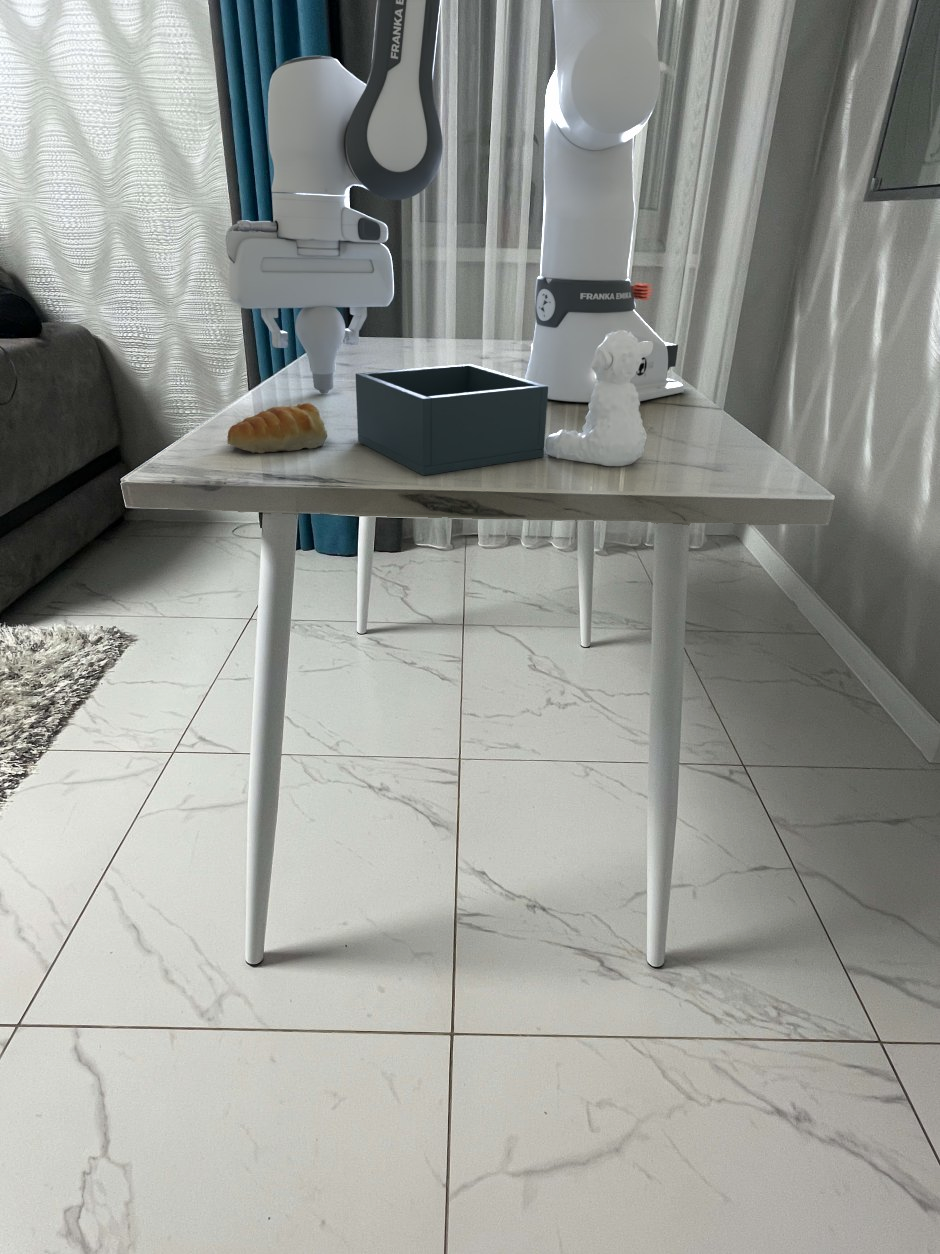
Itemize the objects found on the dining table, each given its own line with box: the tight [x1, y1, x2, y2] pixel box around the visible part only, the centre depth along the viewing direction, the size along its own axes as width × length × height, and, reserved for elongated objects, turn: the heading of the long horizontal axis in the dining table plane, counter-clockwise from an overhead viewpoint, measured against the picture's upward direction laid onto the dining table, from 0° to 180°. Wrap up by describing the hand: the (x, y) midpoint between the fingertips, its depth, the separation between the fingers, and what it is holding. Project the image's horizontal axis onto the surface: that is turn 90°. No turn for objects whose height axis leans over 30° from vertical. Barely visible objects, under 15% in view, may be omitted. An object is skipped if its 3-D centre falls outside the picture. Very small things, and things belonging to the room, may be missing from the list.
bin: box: [354, 363, 549, 476], centre depth 80 cm, size 14×14×7 cm
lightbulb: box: [294, 306, 346, 394], centre depth 102 cm, size 6×6×11 cm
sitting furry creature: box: [544, 330, 653, 467], centre depth 77 cm, size 10×9×12 cm
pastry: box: [226, 402, 328, 454], centre depth 80 cm, size 9×7×4 cm
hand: (316, 345), depth 102 cm, fingers open, 8 cm apart
